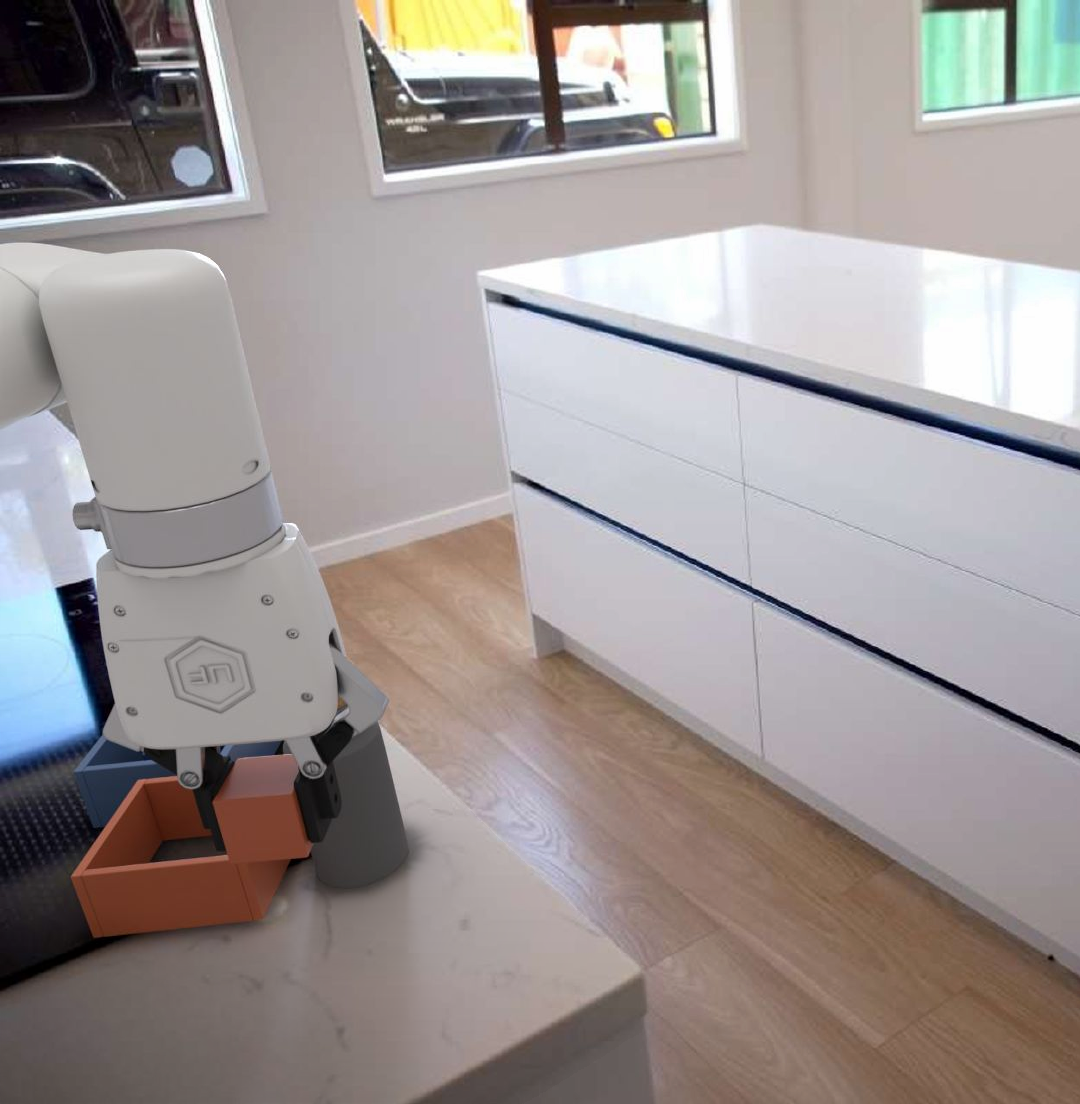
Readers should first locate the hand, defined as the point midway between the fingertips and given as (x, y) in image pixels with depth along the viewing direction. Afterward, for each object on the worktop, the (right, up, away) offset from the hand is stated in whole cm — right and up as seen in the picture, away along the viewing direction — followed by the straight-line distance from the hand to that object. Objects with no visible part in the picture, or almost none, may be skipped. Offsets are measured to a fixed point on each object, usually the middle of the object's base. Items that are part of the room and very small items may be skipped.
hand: (277, 828), depth 67 cm
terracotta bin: (-11, -7, +15) cm, 20 cm away
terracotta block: (0, -1, 0) cm, 1 cm away
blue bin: (-17, -3, +26) cm, 31 cm away
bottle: (-1, -6, +16) cm, 17 cm away
